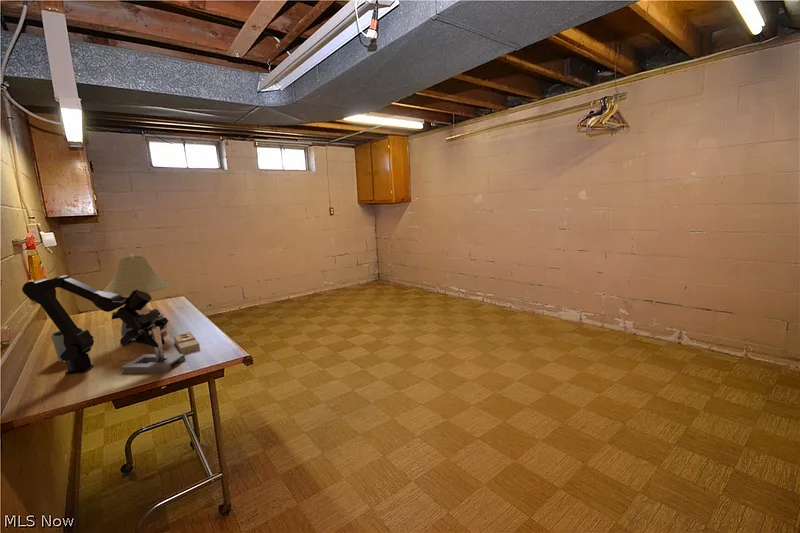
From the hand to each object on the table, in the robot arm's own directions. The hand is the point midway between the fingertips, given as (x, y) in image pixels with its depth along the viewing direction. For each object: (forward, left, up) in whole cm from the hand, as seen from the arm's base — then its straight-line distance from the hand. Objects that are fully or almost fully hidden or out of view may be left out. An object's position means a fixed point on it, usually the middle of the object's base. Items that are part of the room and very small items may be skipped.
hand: (161, 345), depth 143 cm
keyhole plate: (-4, +1, -9) cm, 10 cm away
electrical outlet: (-1, +21, -9) cm, 23 cm away
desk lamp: (-30, +38, -9) cm, 49 cm away
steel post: (-1, 0, -9) cm, 9 cm away
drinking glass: (-47, +15, -9) cm, 50 cm away
